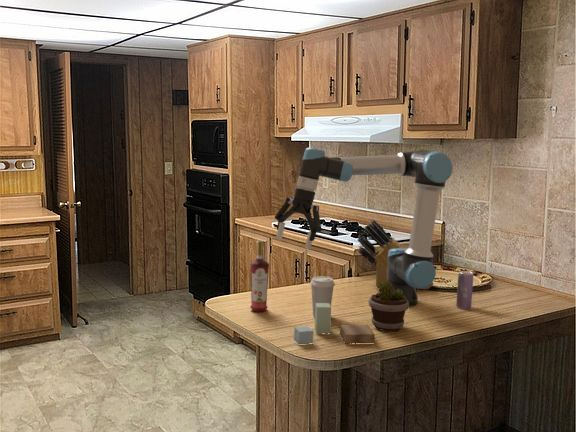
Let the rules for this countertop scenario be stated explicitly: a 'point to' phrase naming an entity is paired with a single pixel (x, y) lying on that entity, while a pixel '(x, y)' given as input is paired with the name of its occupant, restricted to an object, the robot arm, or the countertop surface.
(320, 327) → the sage block
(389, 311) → the flowerpot
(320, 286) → the coffee cup
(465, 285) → the beverage can
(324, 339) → the countertop surface
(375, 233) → the knife block
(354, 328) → the walnut block
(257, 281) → the liquor
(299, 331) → the blue-grey cube
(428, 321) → the countertop surface
